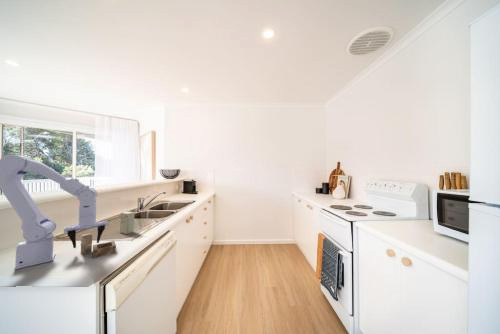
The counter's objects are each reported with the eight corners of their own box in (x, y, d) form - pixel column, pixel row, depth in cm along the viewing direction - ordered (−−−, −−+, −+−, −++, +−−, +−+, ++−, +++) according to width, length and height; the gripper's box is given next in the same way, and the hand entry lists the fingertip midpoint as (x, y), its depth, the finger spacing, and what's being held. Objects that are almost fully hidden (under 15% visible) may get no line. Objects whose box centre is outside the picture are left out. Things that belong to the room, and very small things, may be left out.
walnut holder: (93, 257, 73) (93, 250, 74) (92, 251, 79) (93, 245, 79) (115, 252, 79) (115, 245, 79) (113, 246, 84) (114, 240, 84)
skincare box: (119, 233, 103) (120, 212, 104) (126, 230, 107) (127, 211, 108) (127, 234, 101) (127, 213, 102) (134, 231, 106) (134, 211, 106)
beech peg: (80, 255, 76) (81, 236, 76) (80, 252, 78) (81, 234, 79) (91, 252, 78) (92, 234, 78) (91, 249, 81) (92, 232, 81)
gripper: (63, 219, 71) (62, 252, 70) (108, 213, 81) (108, 242, 81) (65, 216, 76) (64, 247, 76) (107, 211, 86) (106, 238, 86)
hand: (86, 244), depth 78 cm, fingers open, 7 cm apart
